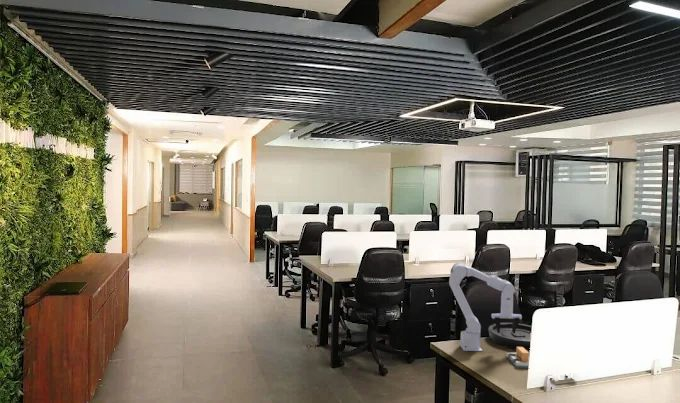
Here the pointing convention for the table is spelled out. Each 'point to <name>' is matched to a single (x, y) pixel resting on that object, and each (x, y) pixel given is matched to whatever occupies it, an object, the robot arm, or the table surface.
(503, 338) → the grey bolted disc
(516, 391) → the table surface
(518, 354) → the orange notched block
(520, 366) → the slotted rail
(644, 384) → the table surface
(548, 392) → the table surface
